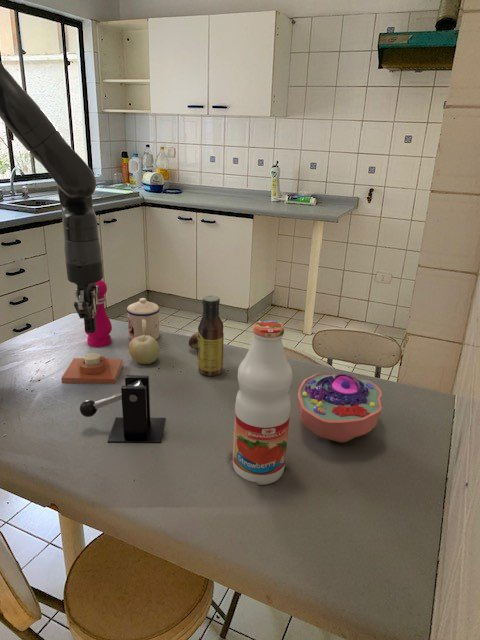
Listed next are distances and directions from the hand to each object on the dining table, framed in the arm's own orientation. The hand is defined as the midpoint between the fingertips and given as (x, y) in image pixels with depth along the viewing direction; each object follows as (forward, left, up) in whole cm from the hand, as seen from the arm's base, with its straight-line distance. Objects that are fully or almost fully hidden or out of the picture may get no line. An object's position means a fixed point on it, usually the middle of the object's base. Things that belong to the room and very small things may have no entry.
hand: (90, 331), depth 107 cm
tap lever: (+10, -23, -5) cm, 26 cm away
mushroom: (+26, +15, -12) cm, 32 cm away
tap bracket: (+14, -23, -12) cm, 29 cm away
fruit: (+11, +8, -12) cm, 18 cm away
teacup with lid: (+9, +22, -12) cm, 27 cm away
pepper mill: (-3, +19, -12) cm, 23 cm away
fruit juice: (+37, -33, -12) cm, 51 cm away
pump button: (0, 0, -8) cm, 8 cm away
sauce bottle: (+28, +3, -12) cm, 30 cm away
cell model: (+54, -21, -12) cm, 59 cm away
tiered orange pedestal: (0, 0, -12) cm, 12 cm away
